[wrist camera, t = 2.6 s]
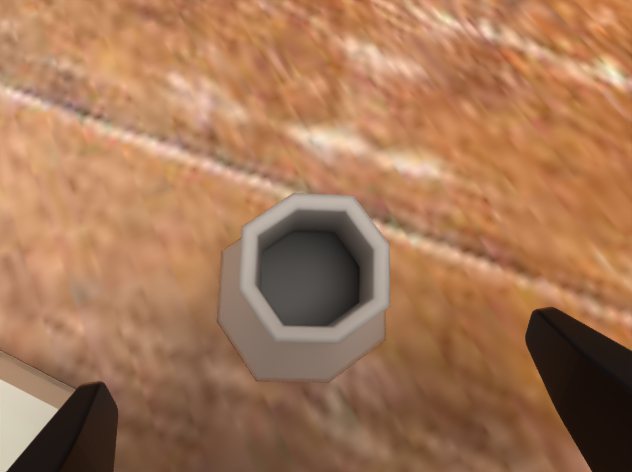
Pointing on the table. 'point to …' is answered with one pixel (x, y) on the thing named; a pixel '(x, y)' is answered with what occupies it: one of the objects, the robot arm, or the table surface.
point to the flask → (305, 289)
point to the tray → (25, 405)
